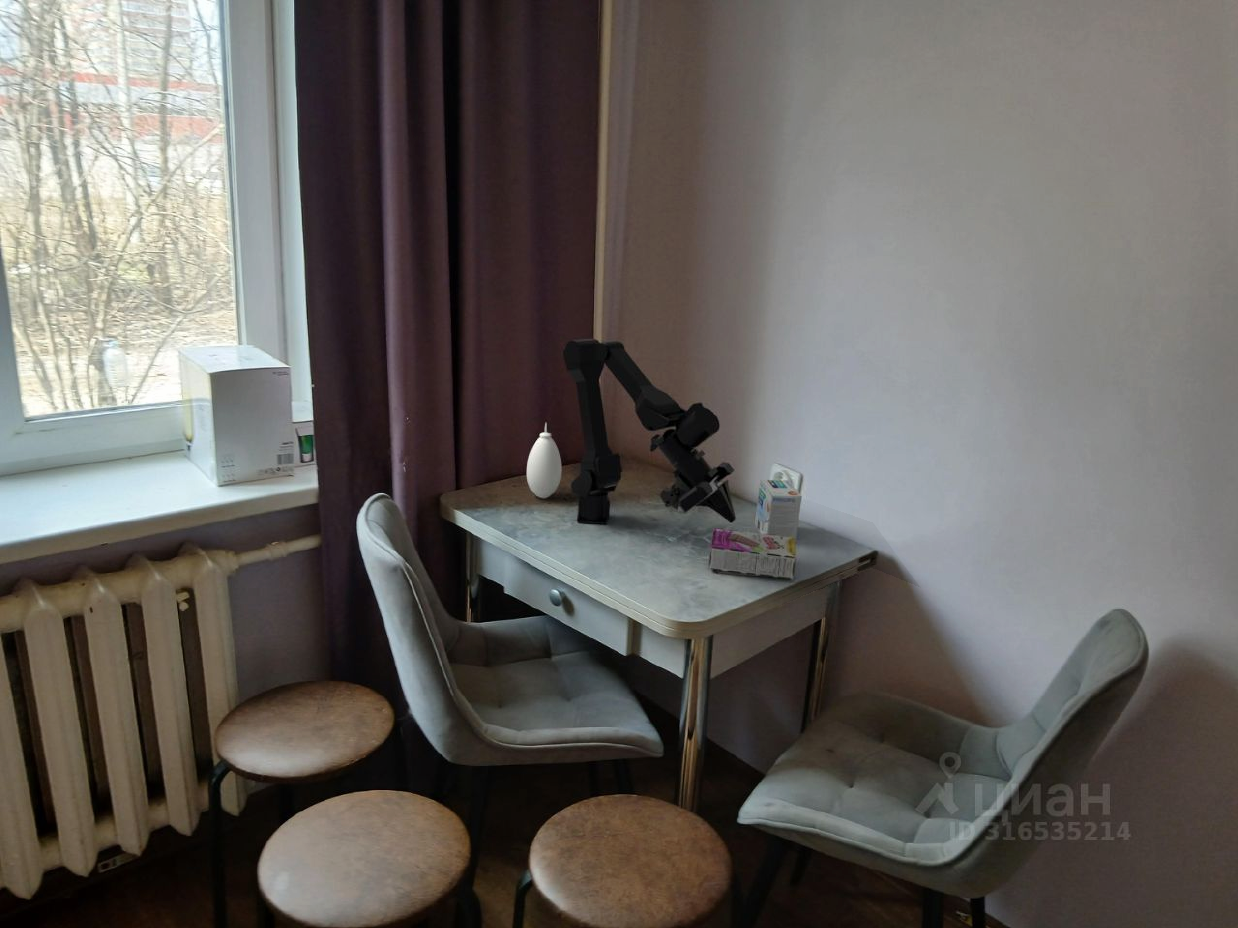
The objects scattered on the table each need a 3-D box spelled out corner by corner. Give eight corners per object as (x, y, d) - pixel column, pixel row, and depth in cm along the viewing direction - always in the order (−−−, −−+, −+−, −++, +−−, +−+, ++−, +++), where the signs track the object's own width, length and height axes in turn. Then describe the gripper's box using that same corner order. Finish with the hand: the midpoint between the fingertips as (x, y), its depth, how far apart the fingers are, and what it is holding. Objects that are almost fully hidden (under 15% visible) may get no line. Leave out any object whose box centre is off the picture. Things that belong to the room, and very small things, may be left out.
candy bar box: (713, 526, 176) (795, 536, 174) (710, 548, 178) (791, 559, 176) (710, 546, 166) (797, 557, 164) (707, 570, 167) (794, 581, 165)
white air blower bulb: (566, 496, 203) (570, 422, 198) (546, 505, 197) (549, 428, 192) (540, 489, 207) (542, 416, 202) (519, 497, 201) (521, 422, 196)
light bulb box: (754, 524, 194) (759, 478, 191) (783, 525, 195) (789, 479, 191) (765, 543, 184) (771, 495, 181) (796, 543, 184) (803, 496, 181)
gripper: (670, 467, 180) (716, 527, 180) (637, 492, 164) (687, 558, 163) (710, 437, 175) (757, 498, 175) (680, 460, 159) (732, 528, 158)
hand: (733, 521), depth 168 cm, fingers closed
